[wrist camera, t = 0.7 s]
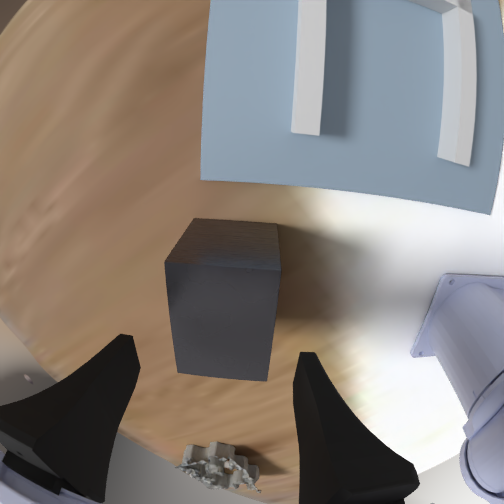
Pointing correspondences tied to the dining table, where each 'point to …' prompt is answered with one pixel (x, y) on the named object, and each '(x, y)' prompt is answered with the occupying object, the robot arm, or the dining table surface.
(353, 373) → the dining table surface
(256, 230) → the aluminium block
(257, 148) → the coupler cradle
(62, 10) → the dining table surface
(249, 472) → the egg carton
